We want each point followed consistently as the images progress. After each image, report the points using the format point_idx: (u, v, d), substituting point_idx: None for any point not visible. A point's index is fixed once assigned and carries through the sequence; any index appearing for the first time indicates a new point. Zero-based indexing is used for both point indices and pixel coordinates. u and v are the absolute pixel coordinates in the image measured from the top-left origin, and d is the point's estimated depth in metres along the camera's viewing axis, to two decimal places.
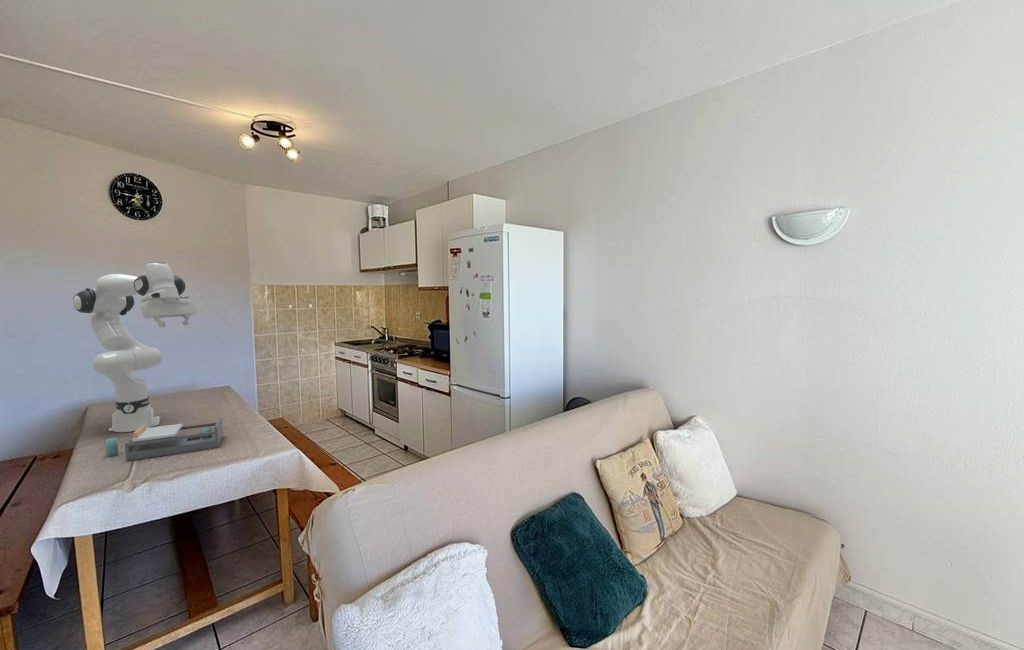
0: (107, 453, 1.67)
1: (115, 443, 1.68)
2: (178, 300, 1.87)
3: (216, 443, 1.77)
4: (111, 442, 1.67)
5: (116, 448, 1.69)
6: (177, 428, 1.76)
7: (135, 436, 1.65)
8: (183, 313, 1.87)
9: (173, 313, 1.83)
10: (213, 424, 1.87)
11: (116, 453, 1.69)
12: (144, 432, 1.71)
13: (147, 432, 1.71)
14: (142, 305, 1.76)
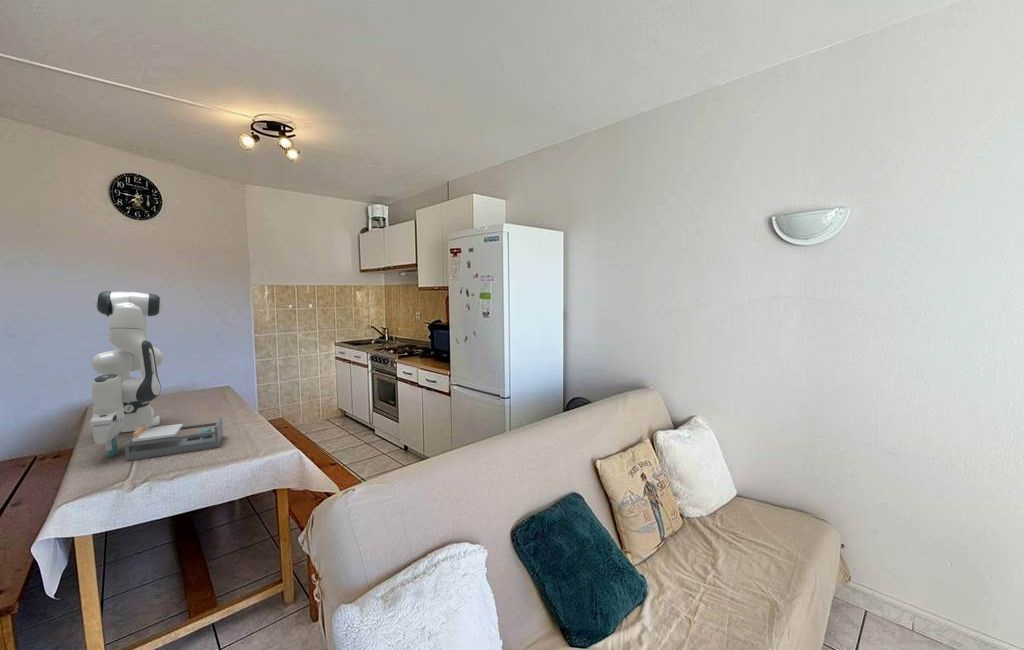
0: (107, 453, 1.67)
1: (115, 443, 1.68)
2: None
3: (216, 443, 1.77)
4: None
5: (116, 448, 1.69)
6: (177, 428, 1.76)
7: (135, 436, 1.65)
8: (119, 431, 1.72)
9: (116, 434, 1.69)
10: (213, 424, 1.87)
11: (116, 453, 1.69)
12: (144, 432, 1.71)
13: (147, 432, 1.71)
14: (97, 430, 1.59)
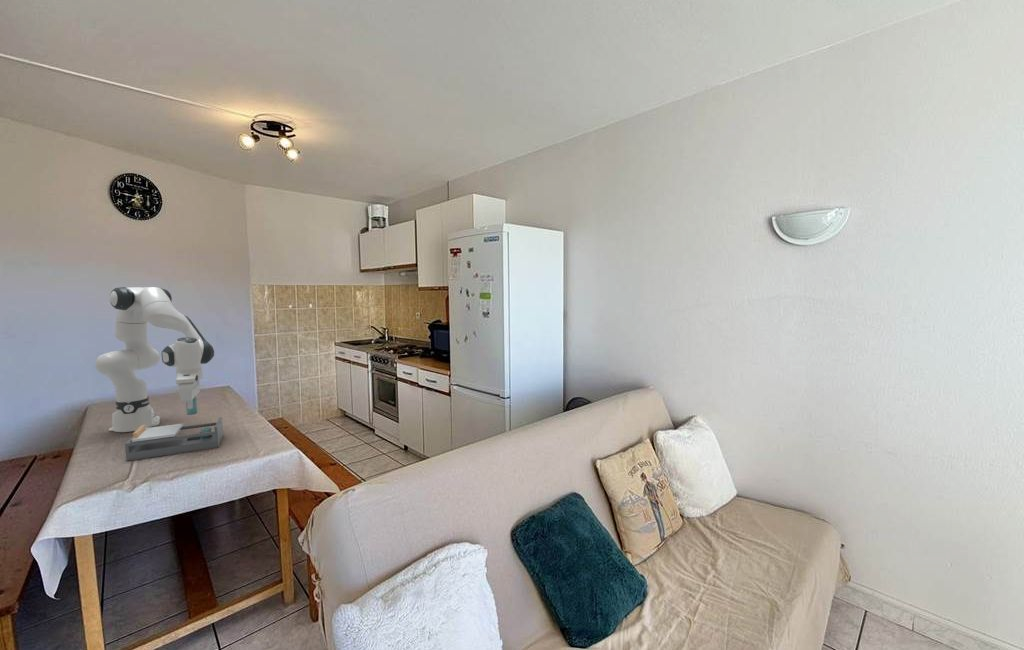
0: (188, 411, 1.76)
1: (195, 402, 1.78)
2: None
3: (216, 443, 1.77)
4: None
5: (196, 407, 1.78)
6: (177, 428, 1.76)
7: (135, 436, 1.65)
8: (197, 392, 1.82)
9: (196, 394, 1.78)
10: (213, 424, 1.87)
11: (196, 412, 1.78)
12: (144, 432, 1.71)
13: (147, 432, 1.71)
14: (183, 388, 1.68)
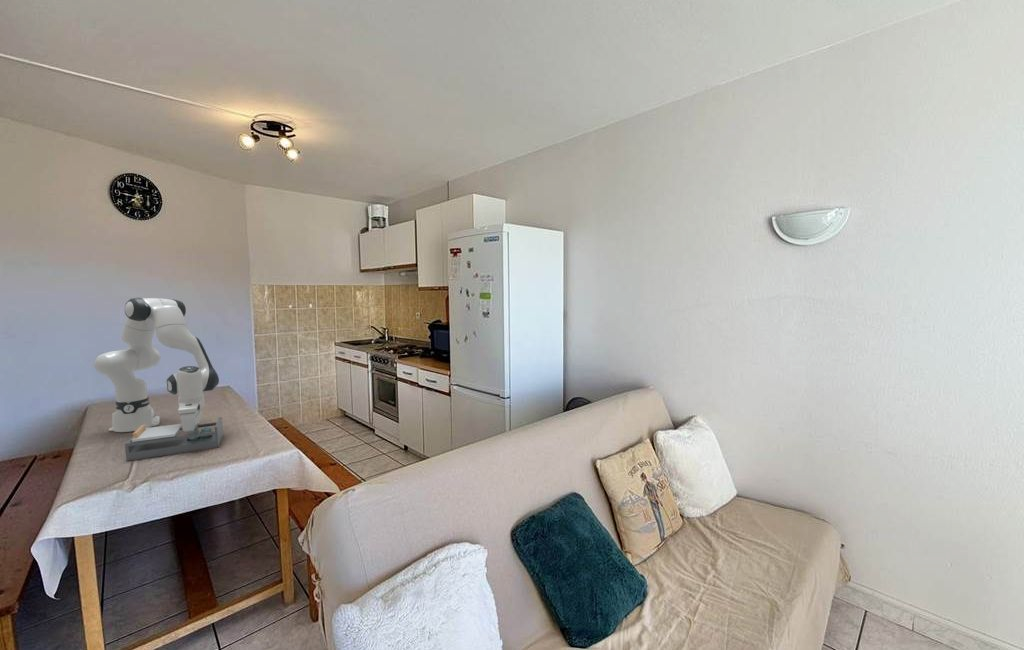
0: None
1: None
2: None
3: (216, 443, 1.77)
4: None
5: (198, 439, 1.79)
6: (177, 428, 1.76)
7: (135, 436, 1.65)
8: (199, 420, 1.83)
9: (197, 422, 1.79)
10: (213, 424, 1.87)
11: None
12: (144, 432, 1.71)
13: (147, 432, 1.71)
14: (185, 418, 1.69)
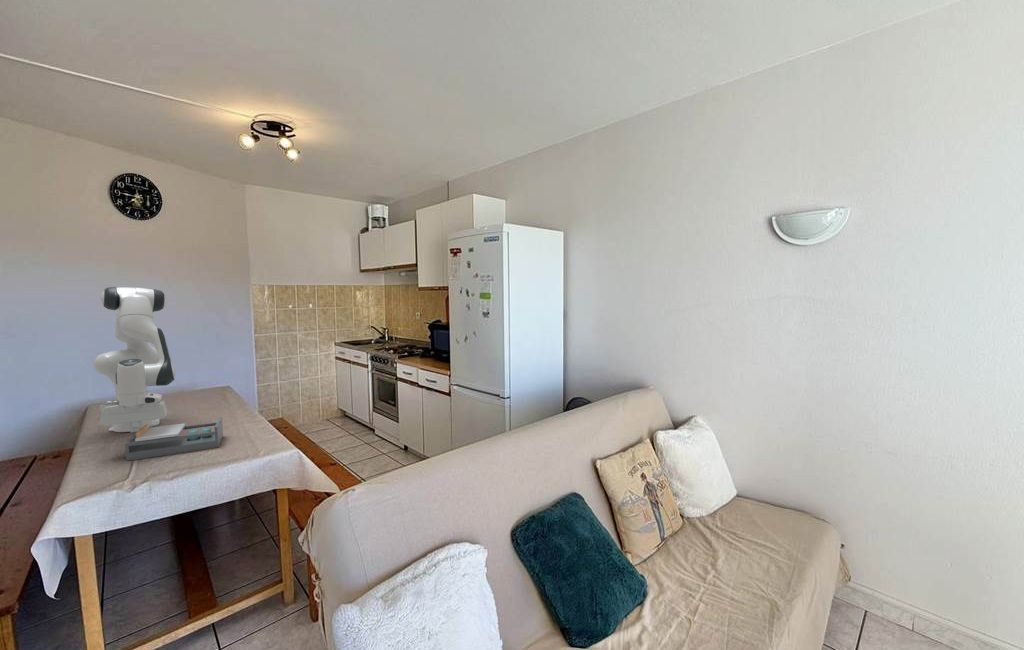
0: None
1: None
2: None
3: (216, 443, 1.77)
4: (194, 433, 1.78)
5: (198, 439, 1.79)
6: (180, 428, 1.77)
7: (138, 436, 1.65)
8: None
9: None
10: (213, 424, 1.87)
11: None
12: (147, 432, 1.72)
13: (150, 432, 1.72)
14: (163, 405, 1.72)
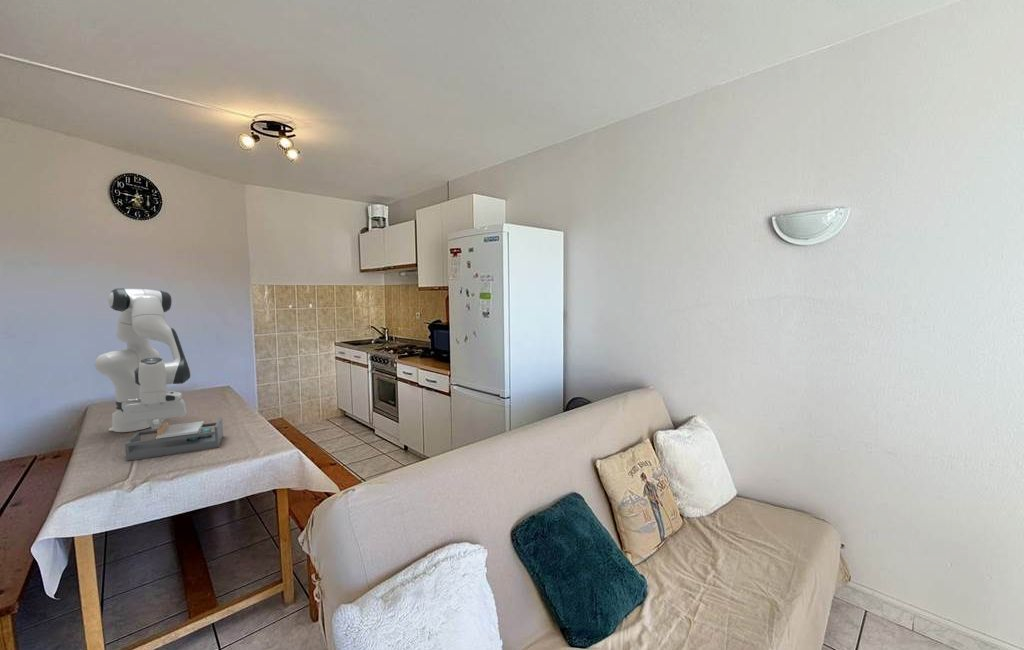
0: None
1: None
2: None
3: (216, 443, 1.77)
4: None
5: (198, 439, 1.79)
6: (199, 425, 1.80)
7: (159, 433, 1.68)
8: None
9: None
10: (213, 424, 1.87)
11: None
12: (167, 429, 1.75)
13: (170, 429, 1.75)
14: (183, 403, 1.75)
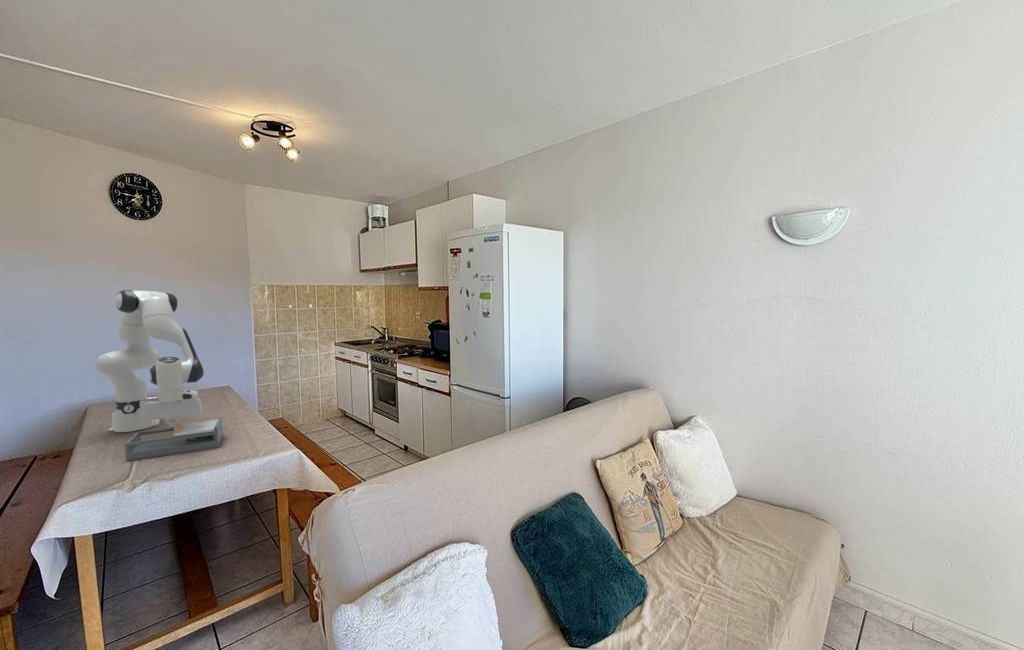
0: None
1: None
2: None
3: (216, 443, 1.77)
4: None
5: (198, 439, 1.79)
6: (214, 423, 1.83)
7: (176, 431, 1.71)
8: None
9: None
10: None
11: None
12: (183, 427, 1.78)
13: (186, 427, 1.78)
14: (199, 401, 1.78)
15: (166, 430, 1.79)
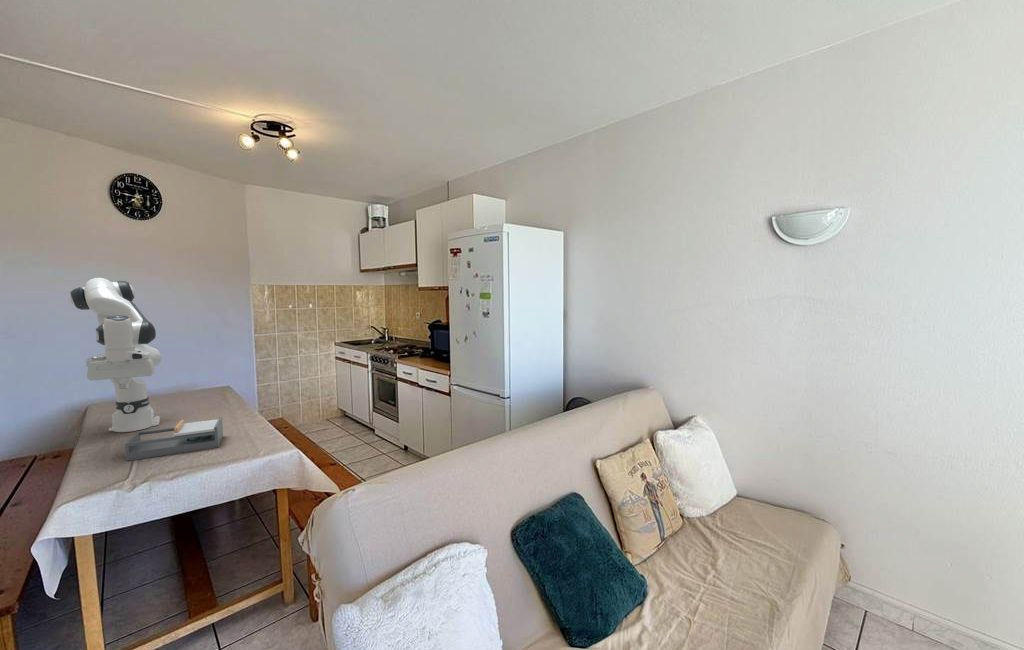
0: None
1: None
2: None
3: (216, 443, 1.77)
4: None
5: (198, 439, 1.79)
6: (214, 423, 1.83)
7: (176, 431, 1.71)
8: None
9: None
10: None
11: None
12: (183, 427, 1.78)
13: (186, 427, 1.78)
14: (150, 362, 1.72)
15: (166, 430, 1.79)
